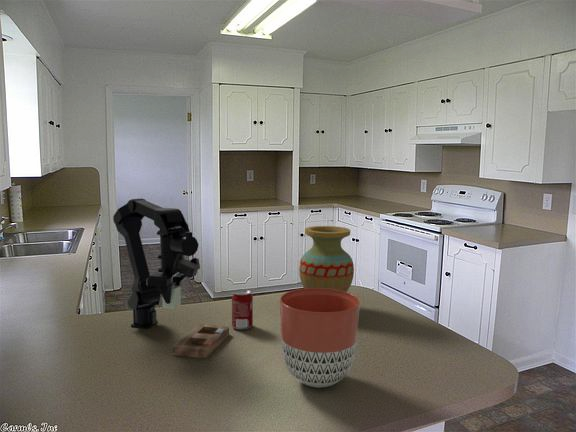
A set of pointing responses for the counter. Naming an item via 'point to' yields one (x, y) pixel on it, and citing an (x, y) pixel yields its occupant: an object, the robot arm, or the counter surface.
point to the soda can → (242, 309)
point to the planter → (319, 334)
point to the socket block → (201, 341)
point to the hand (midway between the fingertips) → (171, 301)
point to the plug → (173, 298)
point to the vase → (326, 260)
